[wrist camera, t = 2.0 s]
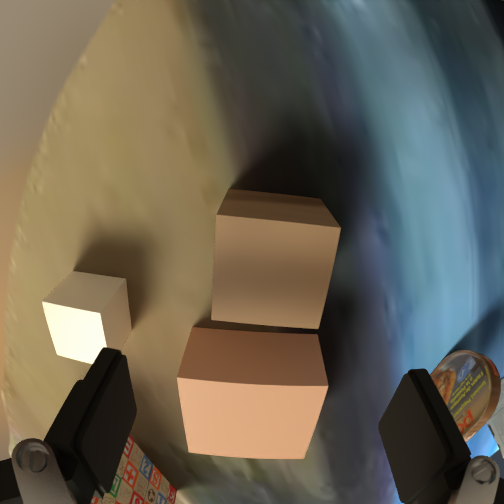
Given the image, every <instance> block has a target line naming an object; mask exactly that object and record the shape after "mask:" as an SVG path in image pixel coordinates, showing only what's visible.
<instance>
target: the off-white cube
mask: <svg viewBox="0 0 504 504" xmlns="http://www.w3.org/2000/svg"><path fill="white" fill-rule="evenodd" d="M42 304H43V308H44V312H45V315H46V319H47V323H48V326H49V330H50V333H51V336H52V340H53V343H54V346H55V349H56V352H57V355H60V356H64V357H67V358H71V359H75V360H79V361H82V362H86V363H90V364H93V362H94V361H95V359H96V357H97V356H98V354H99V352H100V351H101V349H102V348H103V347H108V348H113V349H118V350H120V351H121V350H122V348H123V346H124V344H125V342H126V340H127V339H128V337H129V335H130V333H131V331H132V326H131V319H130V311H129V302H128V293H127V283H126V279H125V278H118V277H111V276H104V275H97V274H90V273H83V272H76V271H72V272H71V273H70V274H69V275H68V276H67V277H66V278H65V279H64V280H63V281H62V282H61V283H60V284H59V285H58V286H57V287H56V288H55V289H54V290H53V291H52V292H51V293H50V294H49V295H48V296H47V297H46V298H45V299H44V300H43V301H42Z"/></svg>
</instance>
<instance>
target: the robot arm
mask: <svg viewBox="0 0 504 504" xmlns="http://www.w3.org/2000/svg"><path fill="white" fill-rule="evenodd" d="M502 1H504V0H502ZM136 411H137V409H136V403H135V399H134V394H133V389H132V384H131V379H130V374H129V369H128V364H127V358H126V356H125V355H122V353H121V351H120V350H118V349H113V348H108V347H103V348H102V349H101V351H100V352H99V354H98V356H97V357H96V359H95V361H94V362H93V364H92V366H91V367H90V369H89V371H88V373H87V374H86V376H85V378H84V379H83V380H78V381H77V382H76V383H75V385H74V386H73V388H72V390H71V392H70V393H69V395H68V397H67V399H66V400H65V402H64V404H63V406H62V407H61V409H60V411H59V413H58V415H57V416H56V418H55V420H54V422H53V424H52V426H51V427H50V429H49V431H48V433H47V435H46V437H45V439H44V441H42V440H40V439H36V438H29V439H25V440H22V441H21V442H19V443H18V444H17V445H16V446H15V448H14V449H13V452H12V455H11V457H12V458H9V459H6V460H2V461H0V504H91V501H92V498H93V496H94V497H97V498H100V499H103V497H104V494H105V493H107V494H108V493H109V492H110V491H111V488H112V485H113V482H114V479H115V476H116V473H117V469H118V466H119V463H120V460H121V457H122V454H123V451H124V449H125V446H126V443H127V440H128V437H129V434H130V431H131V428H132V425H133V423H134V420H135V417H136ZM379 432H380V435H381V439H382V442H383V445H384V448H385V451H386V454H387V458H388V461H389V464H390V467H391V471H392V474H393V477H394V481H395V484H396V488H397V491H398V495H399V498H400V501H401V502H402V503H404V504H504V479H502V478H500V477H499V476H500V471H499V467H498V465H497V464H496V462H495V461H494V460H493V459H491V458H489V457H488V456H483V455H482V456H476V457H474V458H473V459H471V457H470V455H471V452H470V450H469V448H468V446H467V444H466V442H465V440H464V438H463V436H462V434H461V432H460V430H459V428H458V426H457V424H456V422H455V420H454V418H453V416H452V415H451V413H450V411H449V409H448V407H447V405H446V403H445V401H444V400H443V398H442V396H441V394H440V392H439V391H438V389H437V387H436V385H435V383H434V382H433V380H432V378H431V376H430V375H429V373H428V371H427V370H426V369H411V370H409V371H408V373H407V374H405V375H404V376H403V378H402V380H401V382H400V384H399V386H398V388H397V390H396V392H395V394H394V396H393V398H392V400H391V401H390V403H389V405H388V407H387V409H386V411H385V413H384V414H383V416H382V418H381V420H380V422H379Z"/></svg>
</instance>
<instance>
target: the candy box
mask: <svg viewBox="0 0 504 504" xmlns="http://www.w3.org/2000/svg"><path fill="white" fill-rule="evenodd" d="M487 425H488V427H489V429H490V431H491V433H492V435H493V437H494V439H495V441H496V443H497V445H498V447H499V449H500V451H501V453H502V455H503V458H504V378H503V379H501V393H500V398H499V402H498V405H497V407H496V410H495V412H494V413H493V415H492V416H491V418H490V419H489V420H488V421H487Z"/></svg>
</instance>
